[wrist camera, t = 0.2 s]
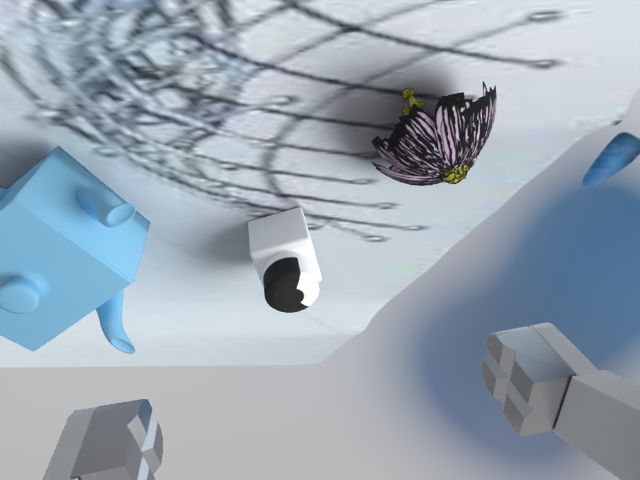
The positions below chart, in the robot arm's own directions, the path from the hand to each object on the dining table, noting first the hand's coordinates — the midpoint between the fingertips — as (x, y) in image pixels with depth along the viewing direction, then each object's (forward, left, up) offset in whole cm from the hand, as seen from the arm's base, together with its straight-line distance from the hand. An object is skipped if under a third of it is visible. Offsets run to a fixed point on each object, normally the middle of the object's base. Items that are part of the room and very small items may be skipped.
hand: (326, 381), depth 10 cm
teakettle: (+15, -23, -39) cm, 48 cm away
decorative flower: (+10, +18, -39) cm, 44 cm away
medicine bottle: (+23, 0, -39) cm, 45 cm away
